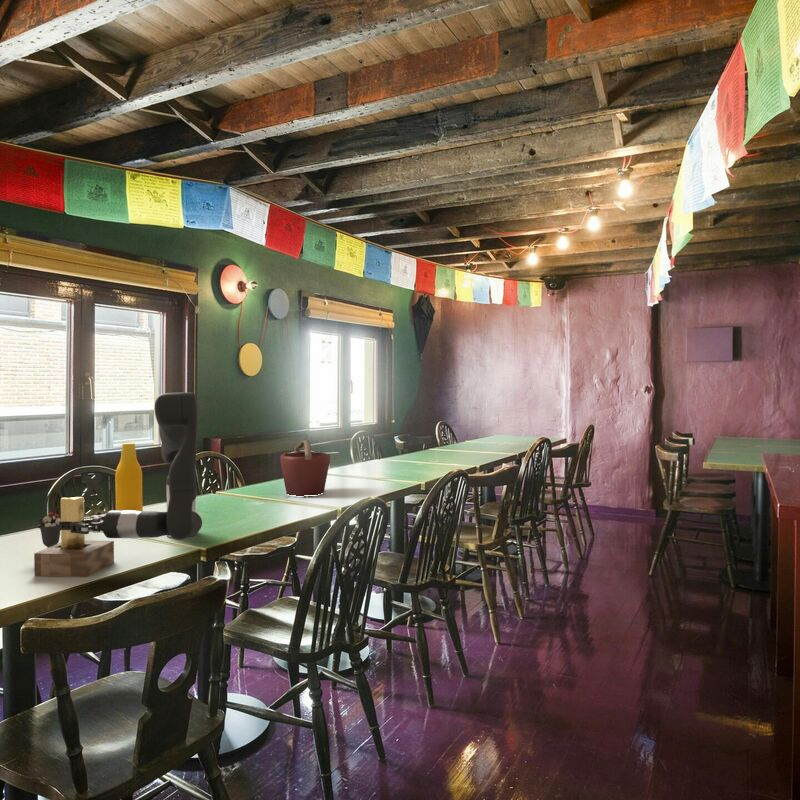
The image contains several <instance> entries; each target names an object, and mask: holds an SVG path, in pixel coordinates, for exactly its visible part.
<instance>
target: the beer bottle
mask: <svg viewBox="0 0 800 800" xmlns="http://www.w3.org/2000/svg"><path fill="white" fill-rule="evenodd" d="M114 475H115V477H114V478H115V484H114V485H115V510H137V511H144V509H143V507H144V506H143V470H142V468H141V465H140V463H139V462H138V459H137V451H136V444H135V443H134V442H126V443H122V445H121V454H120V460H119V463H118V465H117V466H116V471H115V474H114Z"/></svg>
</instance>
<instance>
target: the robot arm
mask: <svg viewBox="0 0 800 800" xmlns="http://www.w3.org/2000/svg"><path fill="white" fill-rule="evenodd" d="M197 399H198V398H197V396H196V394H195V393H194V392H192V391H191V392H190V391H187V392H182V391H181V392H166V393H165V392H164V393H161V394H159V395H157V397H156V399H155V401H154V416H155V419H156V422H157V425H158V431H159V438H160V442H161V447H160V448H161V449H160V450H161V452H160V453H161V457H162V460H163V462H165V463H166V464H169V465H170V466H169V471H168V476H167V477H166V484H165V485H166V487H165V488H166V511H145V510H143V511H137V510H116V509H115V510H114V509H112V510H111V509H110V510H109V511H107V513H106V514H100V515H99V514H98V515H97V514H96V515H94V514H92V515H90V516H84V519H83V520H82V521H72V522H70V521H62V522H60V523H59V529H60V530H71V531H70V533H78V534H85V535H89V534H90V533H94V534H96V533H97V534H98V533H101V532H102V533H103V535H104V536H105V537H106V538H108V539H138V538H143V539H144V538H145V539H146V538H147V539H148V538H149V539H150V538H160V537H163V536H167V537H168V538H172V539H175V540H184V539H187V538H191V537H193V536H195V535H196V534H197V533H199V532H200V531H201V529H202V526H203V519H202V518H201V516H200V515H199V513H198V512H197V507H196V506H197V505H196V504H197V503H196V502H197V493H198V492H197V490H198V489H197V474H196V473H197V472H196V471H197V470H196V466H197V465H196V462H197V460H196V459H197V450H198V449H197V448H198V430H199V429H198V428H199V405H198V400H197Z"/></svg>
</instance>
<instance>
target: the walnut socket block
mask: <svg viewBox="0 0 800 800" xmlns="http://www.w3.org/2000/svg"><path fill="white" fill-rule="evenodd" d="M33 558H34V559H33V561H34V565H33V566H34V569H33V570H34V577H63V576H64V577H66V576H68V578H69V577H70V578H71V577H72V578H74V577H76V578H86V576H87V577H88V576H90V575H92V574H94V573H95V572H97V570H98V571H100V570H101V569H103V568H105V567H107V566H108V565H110V563H111V564H112V562H113V563H114V562H115V541H114V540H93V539H92V540H89V539H88V540H86V539H85V548H82V549H80V550H63V548H61V542H58V543H57V544H56V545H53V546H51V547H47V548H43V549H42V550H39V551H36V552H34V555H33ZM99 569H100V570H99ZM66 578H67V577H66Z"/></svg>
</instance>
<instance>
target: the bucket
mask: <svg viewBox="0 0 800 800" xmlns="http://www.w3.org/2000/svg"><path fill="white" fill-rule="evenodd" d="M303 447H304V451H301V448H303ZM279 459H280V461H279V463H280V467H281V471H282V477H283V482H284V483H283V484H284V487H285V492H286V493H285V494H286V495H287V494H289V495H296V496H304V495H318V494H321V493H325V488H326V483H327V477H328V472H329V467H330V464H331V454H330V453H325V452H320V451H318V452H317V451H316V452H315V451H312V446H311V443H310V440H308V439H304V440H301V441H300V442H299V443H298V444H297V445H296V446H295V447H294V452H288V453H287V452H285V453H282V454H281V455H280V458H279Z"/></svg>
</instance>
